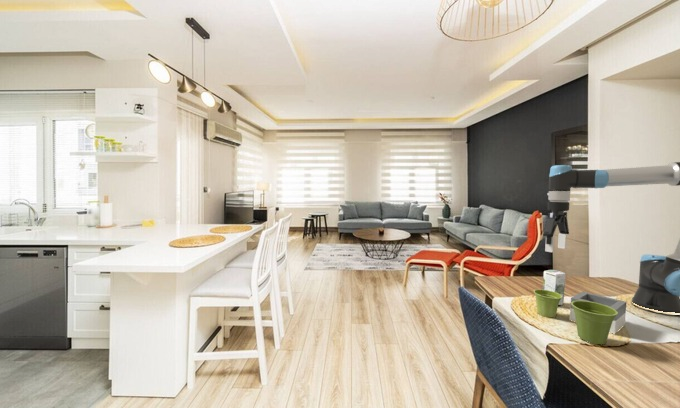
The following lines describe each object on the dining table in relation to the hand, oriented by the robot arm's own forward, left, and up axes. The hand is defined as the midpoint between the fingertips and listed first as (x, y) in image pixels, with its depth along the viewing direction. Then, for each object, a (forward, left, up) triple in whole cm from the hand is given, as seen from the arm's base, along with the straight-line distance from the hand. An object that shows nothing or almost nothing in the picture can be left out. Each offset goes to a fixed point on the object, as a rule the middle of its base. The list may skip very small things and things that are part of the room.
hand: (555, 250), depth 128 cm
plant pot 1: (+8, +13, -24) cm, 29 cm away
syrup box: (0, 0, -24) cm, 24 cm away
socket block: (-7, +17, -24) cm, 30 cm away
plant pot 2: (+3, +32, -24) cm, 40 cm away
